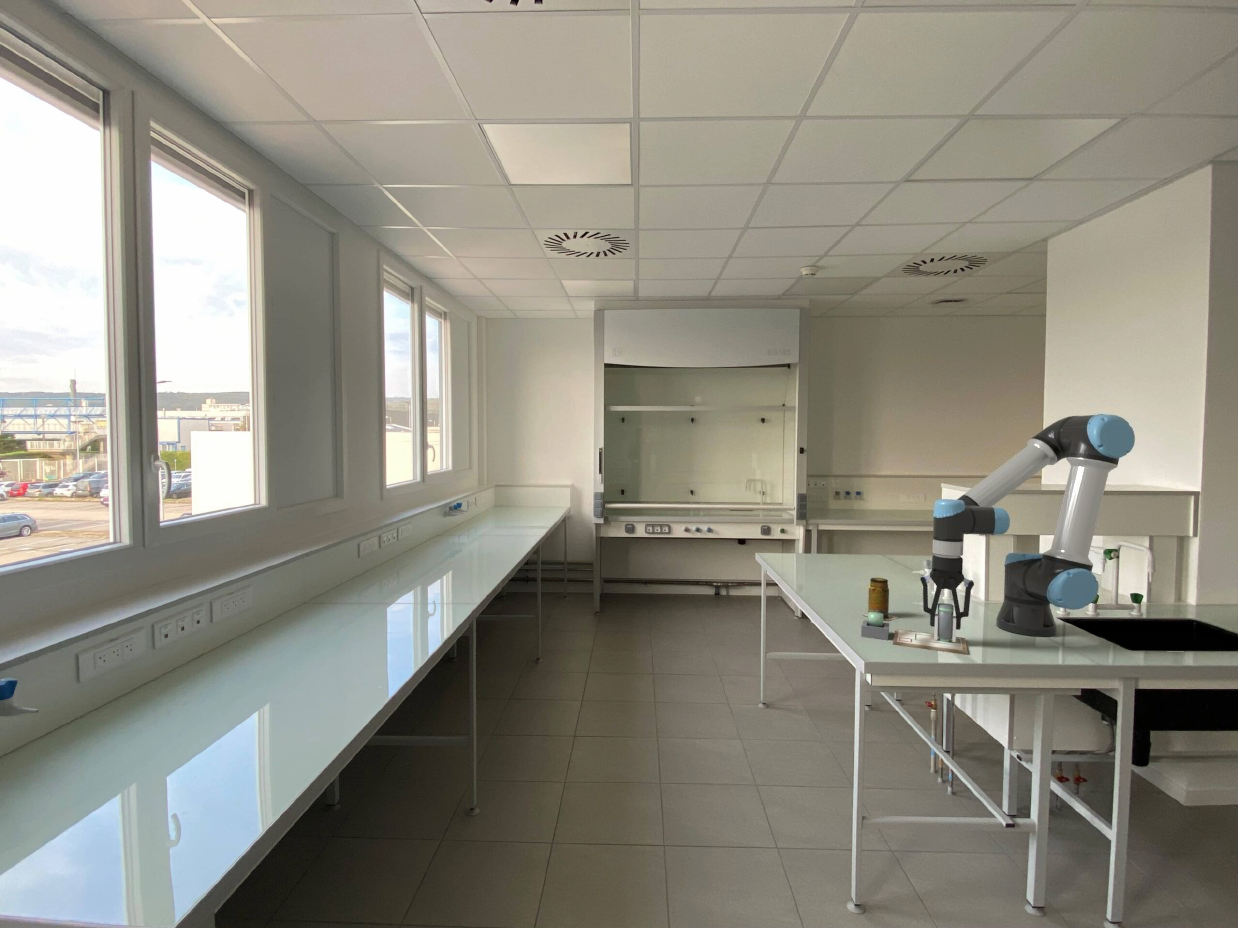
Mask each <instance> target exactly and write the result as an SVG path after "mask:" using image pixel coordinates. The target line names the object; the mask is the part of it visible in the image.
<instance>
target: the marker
mask: <svg viewBox="0 0 1238 928" xmlns="http://www.w3.org/2000/svg"><path fill="white" fill-rule="evenodd" d="M954 613H955V607H954V604H951V603H946V602H938V605H937V614H938V634H937V637H939V640H940V641H942V642H950V639H952V632H953V616H954Z"/></svg>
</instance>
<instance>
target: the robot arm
mask: <svg viewBox="0 0 1238 928" xmlns="http://www.w3.org/2000/svg"><path fill="white" fill-rule="evenodd" d="M1135 443H1136V437H1135V431H1134V429H1133V427H1132V426H1131V425H1130V423H1129V421H1127V420H1126V419H1125V418H1123V417H1121V416H1119V415H1117V414H1116V415H1115V414H1103V413H1099V414H1098V413H1097V414H1091V415H1090V414H1089V415H1072V416H1070V415H1069V416H1067V417H1064V418H1060V419H1059V420H1056V421H1055V422H1053V423H1051V424H1050V425H1048V426H1047V427H1045V428H1043V429H1042V430H1040V431H1039V432H1038V433H1036V434H1035V435H1033V436H1032V438H1030V439H1029V440H1027V443H1026V444H1027V445H1026V447H1024V448H1023V449H1021V450H1020V451H1018V453H1016V454H1014V456H1012V457H1011V458H1010V459H1008V460H1007V461H1005V462H1004V463H1003V464H1001V465H1000V466H999V467H998V468H996V469H995V470H994V471H992V472H991V473H989V475H987V476H986V477H985V478H983V479H982V480H981V481H980V482H978V483H977V484H975V485H974V486H973V487H972V488H970V489H969V490H968V491H966V492H965V493H963V494H962V495H961V496H960V497H959V498H957V499H952V498H951V499H950V498H949V499H948V498H947V499H946V498H942V499H941V498H940V499H936V500H935V502H934V507H933V514H932V517H933V522H932V523H933V526H932V527H933V530H932V536H933V537H932V551H931V552H932V553H933V555H932V556H931V557H932V559H931V571H930V572H929V574H926V575H920V576H919V577H920V582H921V584H922V600H923V601H922V607H923V610H922V611H923V612H924V613H926V614H929V617H930V618H929V626H930V627H934V628H933V630H934V631H933V634H934V639H935V640H937V634H938V613H936V612H937V610H938V604H939V602H940V596H941V593H942V590H950V591H951V596H952V601H953V606H954V613H955V615H953V632H952V642H955V639H956V637H957V635H956V632H957V630H958V631H960V630H961V626H962V625H961V624H962V619H963V618H968V617H969V614H970V605H971V594H972V593H971V592H972V590H973V588H974V586H975V582H974V581H973V580H972V579H969V578H966V577H965V575H964V573H963V567H964V564H963V563H964V559H963V557H962V556H963V555H964V541H965V540H964V537H965V535H988V536H989V535H991V536H996V535H1004V534H1005V533H1007V532H1008V531H1009V528H1010V526H1011V525H1010V524H1011V521H1010V519H1011V518H1010V515H1009V513H1008V511H1007V510H1006V509H1005V508H1003V507H995V505H997V503H999V502H1000V501H1002V500H1003V499H1004V498H1006V497H1007V496H1008V495H1009V494H1011V493H1012V492H1014V490H1016V489H1018V488H1019V487H1020V486H1022V485H1023V484H1024V483H1026V482H1027V481H1029V480H1030V479H1031V478H1033V477H1034V475H1036V474H1038V473H1039V472H1040V471H1041V470H1043V469H1044V468H1046V467H1047V466H1054V465H1056V464H1057V463H1058V462H1059V461H1061V460H1063V459H1066V461H1067V462H1068V463H1069V465H1070V469H1069V474H1068V478H1067V481H1066V486H1065V489H1064V493H1063V499H1062V502H1061V507H1060V509H1059V515H1058V518H1057V523H1056V527H1055V532H1054V534H1053V539H1052V543H1051V547H1050V549H1049V550H1046V551H1044V552H1043V553H1042V552H1009V553H1007V554H1006V555H1005V559H1004V560H1005V561H1004V564H1003V565H1004V580H1003V581H1004V582H1003V583H1004V585H1003V588H1004V589H1003V591H1004V592H1003V602H1002V604H1001V607H1000V608H999V611H998V613H997V616H996V620H995V621H996V623H995V624H996V627H998V628H999V629H1001V630H1004V631H1007V632H1010V633H1014V634H1019V635H1025V636H1030V637H1031V636H1032V637H1033V636H1034V637H1051V636H1055V635H1057V623H1056V621H1055V618H1054V615H1053V612H1052V609H1051V605H1053V606H1054V607H1056V608H1061V609H1066V610H1072V611H1075V610H1080V609H1083V608H1085V607H1086V606H1089V605H1090V604H1091V603H1093V601H1094V600H1095V599H1096V598H1097V595H1098V593H1099V588H1100V587H1099V585H1100V584H1099V582H1098V580H1097V577H1096V576H1095V575H1094V574H1093V572H1092V571H1093V567H1094V563H1093V562H1092V561H1091V559H1090V558H1089V554H1090V550H1091V546H1092V542H1093V537H1094V534H1095V529H1096V527H1097V522H1098V518H1099V515H1100V509H1101V505H1102V501H1103V498H1104V494H1105V493H1104V492H1105V489H1106V485H1107V482H1108V477H1109V473H1110V472H1111V471H1113V470H1115V469H1117V468H1118V467H1119V466H1118V465H1119V461H1120V458H1123V457H1125V456H1127V454H1128V453H1131V451H1132V450H1133V448H1134V446H1135ZM931 580H932V582H933V583H934V585H935V587H936V588H935V591H934V596H933V600H932V603H931V608H930V607H929V592H928V591H929V590H928V587H929V586H928V584H929V583H930V581H931ZM962 583H963V586H964V587H965V590H964V597H963V598H964V600H963V609H962V610H963V611H961V607H960V603H959V597H958V591H957V588H958V587H959V586H960V585H961V584H962Z"/></svg>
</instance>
